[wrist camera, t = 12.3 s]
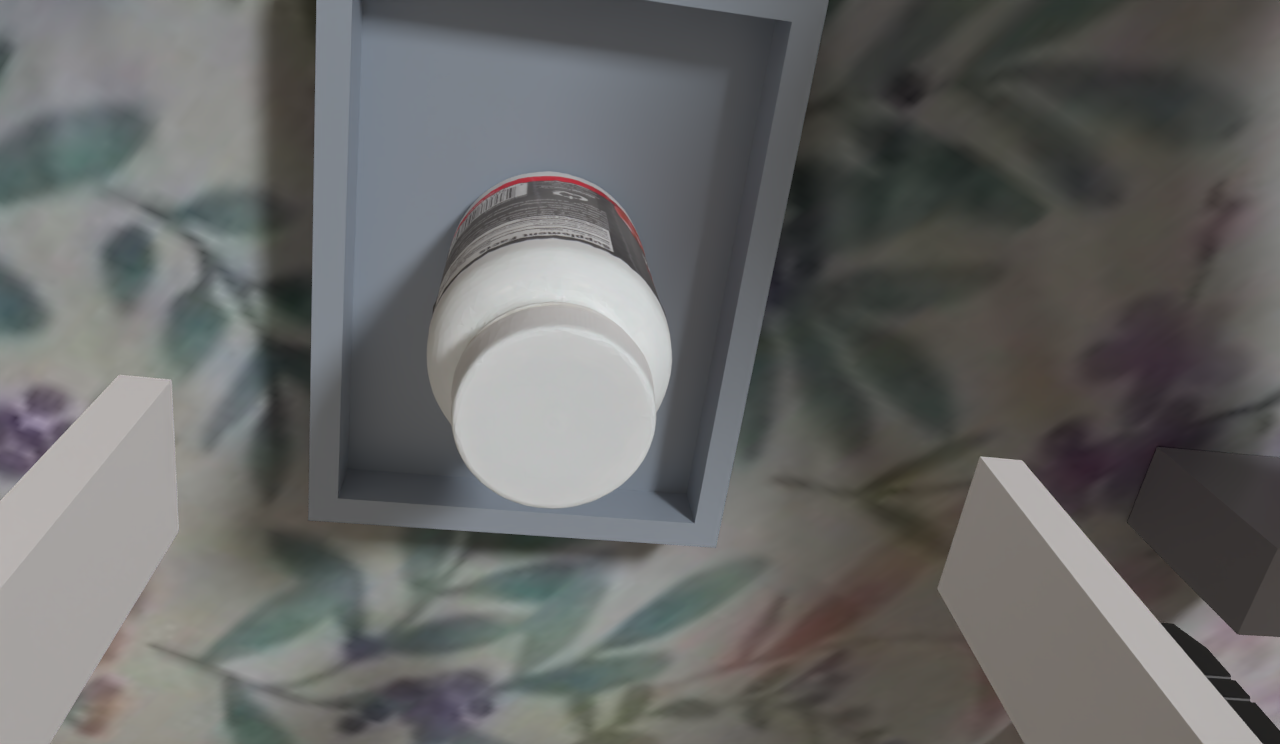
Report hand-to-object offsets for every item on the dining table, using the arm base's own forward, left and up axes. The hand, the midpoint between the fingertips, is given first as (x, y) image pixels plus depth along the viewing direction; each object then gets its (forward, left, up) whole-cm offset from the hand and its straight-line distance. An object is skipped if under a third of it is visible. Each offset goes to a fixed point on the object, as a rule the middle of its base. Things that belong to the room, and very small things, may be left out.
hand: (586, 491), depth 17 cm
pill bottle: (0, 0, -13) cm, 13 cm away
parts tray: (0, 0, -14) cm, 14 cm away
